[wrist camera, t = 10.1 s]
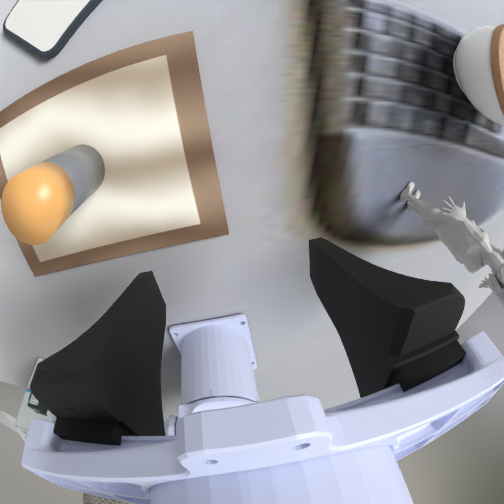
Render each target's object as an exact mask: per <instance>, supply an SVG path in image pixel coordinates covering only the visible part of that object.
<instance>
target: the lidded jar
mask: <svg viewBox="0 0 504 504" xmlns="http://www.w3.org/2000/svg"><path fill="white" fill-rule="evenodd" d="M453 70H454V74H455V78H456V81H457V83H458V85H459V87H460V89H461V90H462V91H463V93H464V94H465V95H466V96H467V98H468V99H469V101H470V102H471V103H472V104H473V106H474V107H475V108H476V109H477V110H478V111H479V112H481V113H482V114H483V115H484V116H485V117H487V118H489V119H490V120H492V121H494V122H496V123H498V124H500V125H502V126H504V24H503V25H498V26H497V25H491V26H483V27H478V28H475V29H473V30H471V31H469V32H468V33H466V34H465V35H464V36H463V37H462V39H461V40H460V42H459V44H458V46H457V48H456V50H455V52H454V55H453Z"/></svg>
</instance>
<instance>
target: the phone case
mask: <svg viewBox="0 0 504 504" xmlns="http://www.w3.org/2000/svg"><path fill="white" fill-rule="evenodd" d="M101 1H102V0H18V1H17V3H16V4H15V5H14V7H13V8H12V10H11V11H10V13H9V14H8V16H7V17H6V19H5V21H4V24H3V31H4V33H6V34H7V35H9V36H10V37H12V38H13V39H15V40H16V41H18V42H19V43H21V44H22V45H24V46H25V47H27V48H28V49H30V50H31V51H33V52H34V53H36V54H37V55H39V56H41V57H45V58H51V57H54V56H56V55H57V54H58V53H59V52H60V51H61V50H62V49H63V48H64V46H65V45H66V44H67V42H68V41H69V39H70V38H71V37H72V36H73V34H74V33H75V32H76V30H77V29H78V28H79V27H80V25H81V24H82V23H83V22H84V21H85V19H86V18H87V17H88V16H89V15H90V14H91V12H92V11H93V10H94V9H95V8H96V7H97V6H98V5H99V4H100V2H101Z"/></svg>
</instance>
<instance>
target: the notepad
mask: <svg viewBox="0 0 504 504" xmlns="http://www.w3.org/2000/svg"><path fill="white" fill-rule="evenodd" d="M81 144H84V145H89V146H91V147H93V148H95V149H96V150H97V151H98V152H99V153H100V155H101V156H102V158H103V161H104V165H105V176H104V179H103V182H102V184H101V186H100V187H99V188H98V189H97V190H96V191H95V192H94V193H93V194H92V195H91V196H90V197H89V198H88V199H87V200H86V201H85V202H84V203H83V204H82V205H81V206H80V207H79V208H78V209H77V210H76V211H75V212H74V213H73V214H72V215H71V216H70V217H69V218H68V219H67V220H66V221H65V222H64V223H63V224H62V225H61V226H60V227H59V228H58V230H57V231H56V232H55V233H54V234H53V235H52V236H51V237H50V239H49V240H47V241H46V242H45V243H43V244H40V245H29V244H26V243H24V242H22V241H20V240H19V239H18V238H16V239H17V241H18V243H19V246H20V248H21V250H22V252H23V254H24V256H25V258H26V260H27V262H28V264H29V266H30V268H31V270H32V272H33V274H34V276H35V277H36V276H40V275H44V274H48V273H52V272H57V271H61V270H65V269H69V268H74V267H78V266H82V265H87V264H91V263H95V262H100V261H104V260H109V259H113V258H118V257H122V256H127V255H131V254H136V253H140V252H145V251H150V250H154V249H159V248H164V247H169V246H173V245H178V244H183V243H188V242H193V241H198V240H203V239H208V238H213V237H218V236H223V235H228V234H229V231H228V226H227V221H226V216H225V211H224V206H223V200H222V195H221V190H220V185H219V180H218V174H217V169H216V164H215V158H214V153H213V148H212V142H211V137H210V131H209V125H208V120H207V114H206V109H205V103H204V97H203V91H202V85H201V80H200V74H199V68H198V62H197V55H196V49H195V43H194V37H193V31H191V32H186V33H181V34H176V35H172V36H168V37H164V38H160V39H156V40H152V41H149V42H145V43H142V44H139V45H135V46H132V47H129V48H126V49H123V50H120V51H117V52H115V53H112V54H109V55H107V56H104V57H101V58H99V59H96V60H94V61H91V62H89V63H87V64H84V65H82V66H80V67H78V68H76V69H73V70H71V71H69V72H67V73H65V74H63V75H61V76H59V77H57V78H55V79H53V80H51V81H49V82H47V83H46V84H44V85H42V86H40V87H38V88H37V89H35V90H33V91H31V92H30V93H28V94H26V95H25V96H23V97H22V98H20V99H18V100H17V101H15V102H14V103H12V104H11V105H9V106H8V107H6V108H5V109H3V110H2V111H1V112H0V198H1V200H2V193H3V190H4V188H5V185H6V184H7V182H8V181H9V180H10V179H11V178H12V177H14V176H15V175H17V174H19V173H21V172H22V171H24V170H26V169H28V168H30V167H32V166H34V165H36V164H37V163H39V162H41V161H43V160H45V159H48V158H50V157H52V156H54V155H56V154H58V153H60V152H62V151H65V150H67V149H69V148H71V147H74V146H76V145H81Z"/></svg>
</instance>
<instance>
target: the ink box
mask: <svg viewBox="0 0 504 504" xmlns="http://www.w3.org/2000/svg"><path fill="white" fill-rule="evenodd" d="M43 360H45V359H43V358H40V357H39V358H38V360H37V362H36V365H35V367H34V370H33V372H32V375H31V377H30V380H29V383H28V386H27V388H26V391H25V394H24V397H23V400H22V403H21V406H20V409H19V412H18V416H17V419H16V423H15V428H16V429H17V431H18V433H19V434H20V436H21V437H22V438H23V440H24V442H26V438H27V433H28V429H29V425H30V421H31V418H37V419H43V420H48V421H51V422H53V423H55V422H56V418H57V417H56V416H54V415H53V414H52V413H51V412H50V411H49V410H47V409H46V408H45V407H44V406H43V405H42V404H41V403H40V402H39V401H38V400H37V399H36V398H35V397H34V396H33V394H32V392H31V390H30V384H31V381H32V378H33V375H34V372H35V370H36V367H37V364H38V363H39V362H41V361H43Z"/></svg>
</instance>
